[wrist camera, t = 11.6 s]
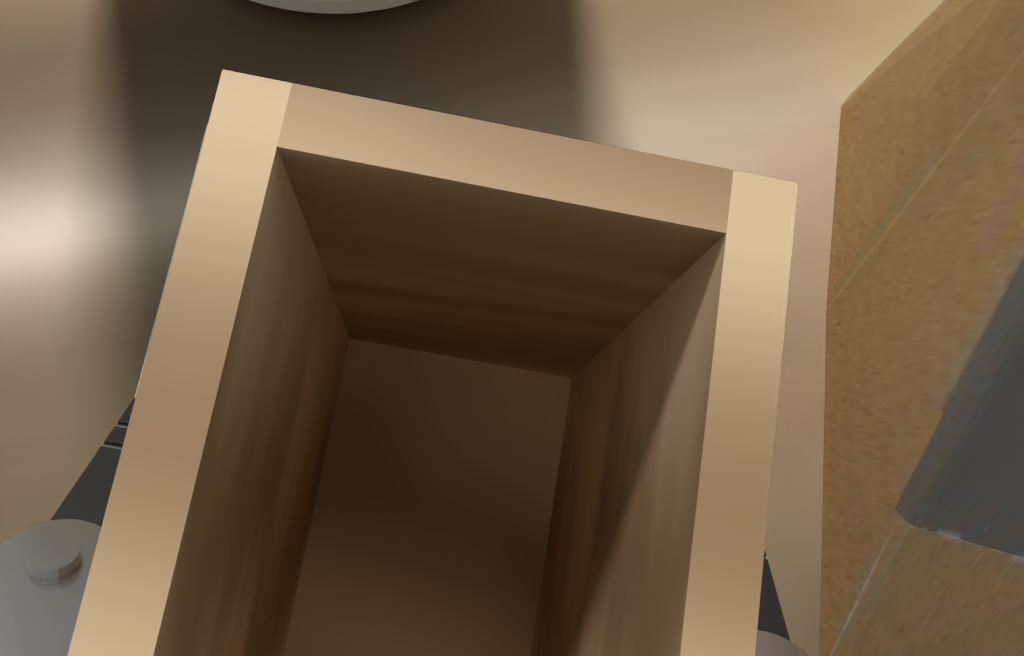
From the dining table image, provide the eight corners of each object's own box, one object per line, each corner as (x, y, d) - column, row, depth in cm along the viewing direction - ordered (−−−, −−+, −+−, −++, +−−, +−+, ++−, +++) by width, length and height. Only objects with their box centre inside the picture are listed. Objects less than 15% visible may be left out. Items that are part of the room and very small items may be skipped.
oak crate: (539, 810, 17) (704, 1209, 7) (226, 764, 16) (-55, 1119, 7) (602, 357, 19) (798, 183, 9) (325, 307, 18) (222, 69, 9)
